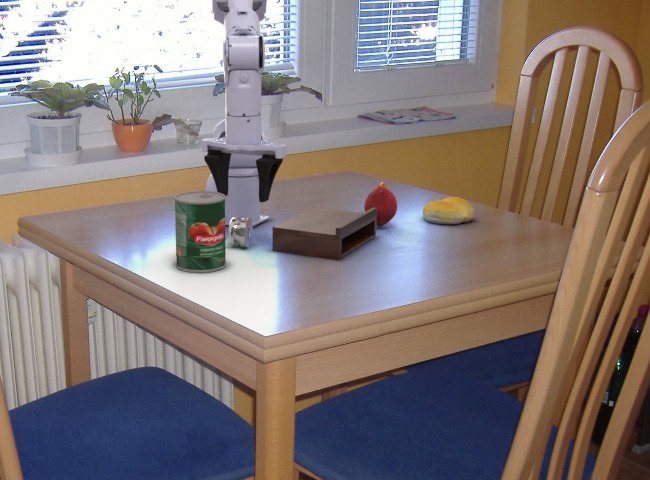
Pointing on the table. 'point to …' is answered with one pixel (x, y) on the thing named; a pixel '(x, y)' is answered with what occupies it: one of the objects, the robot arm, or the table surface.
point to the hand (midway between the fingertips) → (243, 198)
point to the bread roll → (448, 211)
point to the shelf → (325, 232)
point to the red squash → (382, 204)
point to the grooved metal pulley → (240, 231)
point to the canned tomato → (200, 231)
